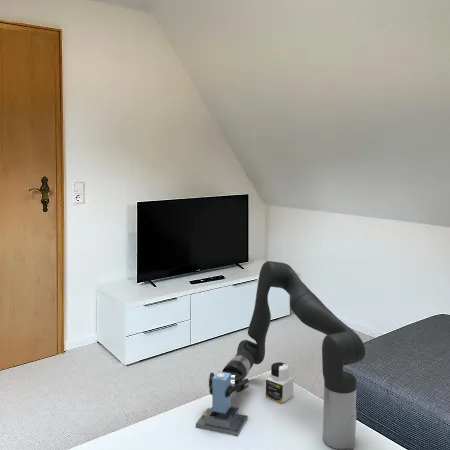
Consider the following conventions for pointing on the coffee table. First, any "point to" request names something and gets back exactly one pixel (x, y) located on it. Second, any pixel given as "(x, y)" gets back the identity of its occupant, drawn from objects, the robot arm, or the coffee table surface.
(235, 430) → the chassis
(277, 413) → the coffee table surface
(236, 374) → the robot arm
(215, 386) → the blue tall box
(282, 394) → the medicine bottle
